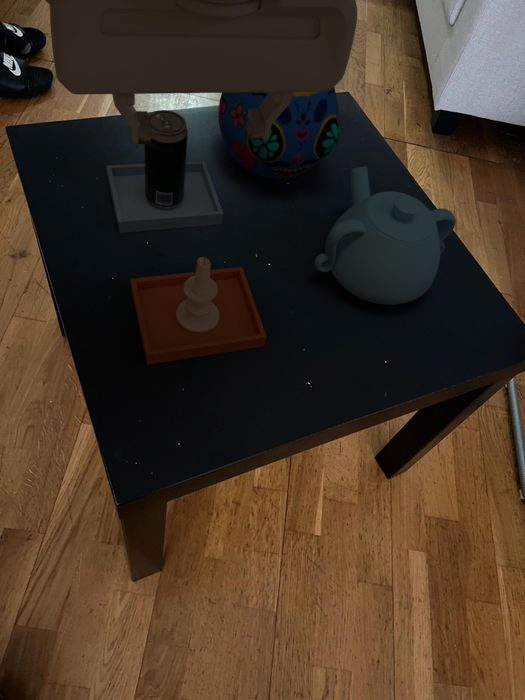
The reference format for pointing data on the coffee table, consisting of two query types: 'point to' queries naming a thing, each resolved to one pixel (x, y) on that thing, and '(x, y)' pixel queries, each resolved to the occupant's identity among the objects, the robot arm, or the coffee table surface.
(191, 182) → the gray tray
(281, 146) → the ceramic pot
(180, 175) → the beer can
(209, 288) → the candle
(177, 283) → the terracotta tray
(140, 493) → the coffee table surface
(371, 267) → the teapot
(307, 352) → the coffee table surface
